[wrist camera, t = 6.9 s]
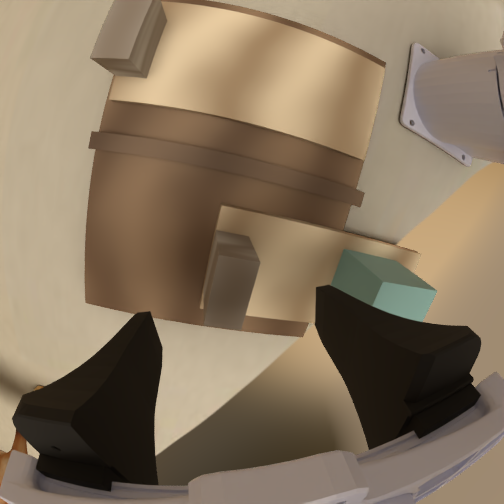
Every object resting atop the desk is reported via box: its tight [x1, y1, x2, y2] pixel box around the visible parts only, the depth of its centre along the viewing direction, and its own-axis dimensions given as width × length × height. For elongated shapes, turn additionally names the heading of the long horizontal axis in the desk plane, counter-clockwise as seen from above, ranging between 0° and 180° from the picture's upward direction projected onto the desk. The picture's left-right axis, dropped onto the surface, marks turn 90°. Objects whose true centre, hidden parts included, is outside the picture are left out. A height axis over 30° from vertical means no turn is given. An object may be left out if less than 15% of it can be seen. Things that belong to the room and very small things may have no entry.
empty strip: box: [90, 0, 385, 161], centre depth 12 cm, size 16×7×5 cm, turn 76°
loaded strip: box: [200, 203, 421, 331], centre depth 18 cm, size 16×7×5 cm, turn 76°
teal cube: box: [331, 249, 437, 322], centre depth 17 cm, size 5×5×5 cm
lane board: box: [85, 0, 386, 337], centre depth 16 cm, size 17×22×2 cm
